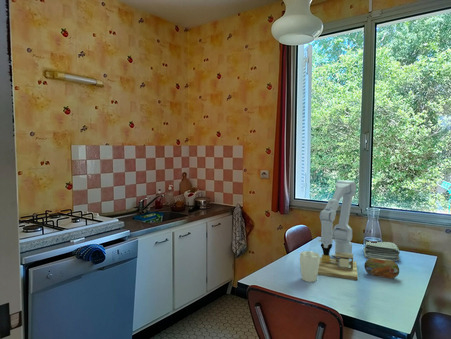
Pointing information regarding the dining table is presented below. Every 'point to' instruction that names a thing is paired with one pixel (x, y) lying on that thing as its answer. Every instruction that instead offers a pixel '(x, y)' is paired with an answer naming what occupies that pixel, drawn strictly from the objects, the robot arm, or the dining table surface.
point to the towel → (382, 251)
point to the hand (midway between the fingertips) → (326, 257)
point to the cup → (309, 265)
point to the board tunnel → (339, 268)
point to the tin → (381, 268)
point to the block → (344, 262)
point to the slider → (327, 260)
